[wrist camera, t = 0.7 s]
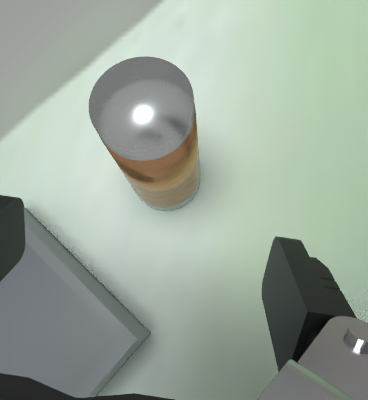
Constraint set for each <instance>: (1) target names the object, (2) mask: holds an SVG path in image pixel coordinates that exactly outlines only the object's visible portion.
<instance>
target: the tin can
mask: <svg viewBox="0 0 368 400" xmlns="http://www.w3.org/2000/svg"><path fill="white" fill-rule="evenodd" d="M89 114H90V119H91V121H92V124H93V126H94V128H95V129H96V131H97V132H98V134H99V136H100V138H101V140H102V142H103V143H104V145H105V146H106V148H107V149H108V151H109V152H110V154H111V155H112V157H113V158H114V160H115V161H116V163H117V164H118V166H119V167H120V169H121V170H122V172H123V173H124V175H125V177H126V178H127V180H128V181H129V183H130V184H131V186H132V187H133V189H134V190H135V192H136V193H137V194H138V196H139V197H140V198H141V200H142V201H143V202H144V203H145V204H147V205H148V206H150V207H151V208H154V209H156V210H161V211H171V210H176V209H179V208H181V207H183V206H185V205H186V204H188V203H189V202H190V201H191V200H192V199H193V197H194V196H195V194H196V193H197V190H198V188H199V183H200V166H199V152H198V138H197V124H196V111H195V104H194V96H193V90H192V87H191V84H190V82H189V80H188V78H187V77H186V75H185V74H184V73H183V72H182V71H181V70H180V69H179V68H178V67H177V66H175V65H174V64H172V63H170V62H168V61H166V60H163V59H160V58H155V57H136V58H131V59H127V60H124V61H122V62H120V63H118V64H116V65H114V66H113V67H111V68H109V69H108V70H107V71H106V72H105V73H104V74H103V75H102V76H101V77H100V78H99V79H98V81H97V82H96V84H95V86H94V87H93V90H92V92H91V95H90V99H89Z"/></svg>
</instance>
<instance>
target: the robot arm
mask: <svg viewBox="0 0 368 400" xmlns="http://www.w3.org/2000/svg"><path fill="white" fill-rule="evenodd" d="M24 250H25V220H24V204H23V201H22V200H21V199H20V198H16V197H10V196H3V195H0V282H1V280H2V279H3V278H4V277H5V276H6V275H7V274H8V273H9V272H10V271H11V270H12V269H13V268H14V267H15V265H16V264H17V263H18V262H19V261H20V260H21V258H22V256H23V253H24ZM262 300H263V304H264V308H265V313H266V317H267V322H268V326H269V330H270V335H271V339H272V344H273V348H274V353H275V357H276V361H277V366H278V370H279V373H278V374H277V375H276V377H275V378H274V379H273V380H272V382H271V383H270V384H269V385H268V387H267V388H266V389H265V390H264V392H263V393H262V394H261V395H260V397H259V398H258V399H257V400H368V323H366V322H364V321H362V320H359V319H357V318H356V316H355V314H354V312H353V311H352V309H351V307H350V306H349V304H348V302H347V300H346V299H345V297H344V295H343V293H342V292H341V291H340V288H339V286H338V285H337V283H336V282H335V281H334V278H333V276H332V274H331V272H330V271H329V269H328V268H327V267H326V266H325V265H324V264H323V263H321V262H320V261H319V260H318V259H317V258H313V257H309V255H308V253H307V251H306V249H305V247H304V245H303V243H302V241H301V240H297V239H290V238H283V237H275V238H274V240H273V243H272V247H271V251H270V254H269V258H268V262H267V266H266V270H265V274H264V278H263V283H262ZM0 400H173V399H167V398H160V397H154V396H147V395H141V394H123V395H111V396H99V397H87V398H76V397H73V396H70V395H68V394H65V393H63V392H61V391H59V390H56V389H54V388H52V387H49V386H47V385H45V384H43V383H40V382H38V381H36V380H33V379H31V378H29V377H23V376H16V375H10V374H3V373H0Z"/></svg>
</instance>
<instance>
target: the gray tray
mask: <svg viewBox="0 0 368 400" xmlns="http://www.w3.org/2000/svg"><path fill="white" fill-rule="evenodd" d="M24 220H25V250H24V253H23V256H22V258H21V260H20V261H19V262H18V263H17V264H16V265H15V267H14V268H13V269H12V270H11V271H10V272H9V273H8V274H7V275H6V276H5V277H4V278H3V279H2V280H1V282H0V373H3V374H10V375H16V376H23V377H29V378H31V379H33V380H36V381H38V382H40V383H43V384H45V385H47V386H49V387H52V388H54V389H56V390H59V391H61V392H63V393H65V394H68V395H70V396H73V397H76V398H87V397H96V396H97V395H98V393H99V392H100V391H101V390H102V389H103V388H104V386H105V385H106V384H107V383H108V382H109V381H110V380H111V378H112V377H113V376H114V375H115V374H116V373H117V371H118V370H119V369H120V368H121V367H122V366H123V364H124V363H125V362H126V361H127V360H128V359H129V358H130V356H131V355H132V354H133V353H134V352H135V351H136V349H137V348H138V347H139V346H140V345H141V344H142V343H143V341H144V340H145V339H146V338H147V337H148V336H149V334H150V333H151V332H150V331H149V330H148V329H147V328H146V327H145V326H144V325H142V324H141V323H140V322H139V321H138V320H137V319H136V318H135V317H134V316H133V315H132V314H131V313H130V312H129V311H128V310H127V309H126V308H125V307H124V306H123V305H122V304H121V303H120V302H119V301H118V300H117V299H116V298H115V297H114V296H113V295H112V294H111V293H110V292H109V291H108V290H107V289H106V288H105V287H104V286H103V285H102V284H101V283H100V282H99V281H98V280H97V279H96V278H95V277H94V276H93V275H92V274H91V273H90V272H89V271H88V270H87V269H86V268H85V267H84V266H83V265H82V264H81V263H80V262H79V261H78V260H77V259H76V258H75V257H74V256H73V255H72V254H71V253H70V252H69V251H68V250H67V249H66V248H65V247H64V246H63V245H62V244H61V243H60V242H59V241H58V240H57V239H56V238H55V237H54V236H53V235H52V234H51V233H50V232H49V231H48V230H47V229H46V228H45V227H44V226H43V225H42V224H41V223H40V222H39V221H38V220H37V219H36V218H35V217H34V216H33V215H32V214H31V213H30V212H29V211H28V210H27V209H26V208H24Z"/></svg>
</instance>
